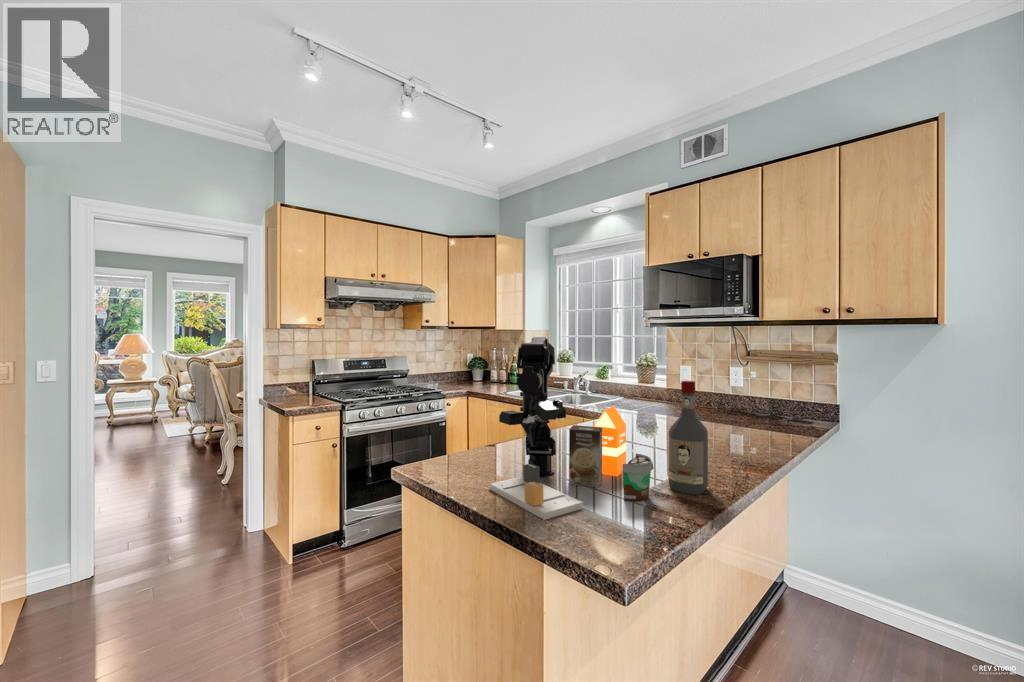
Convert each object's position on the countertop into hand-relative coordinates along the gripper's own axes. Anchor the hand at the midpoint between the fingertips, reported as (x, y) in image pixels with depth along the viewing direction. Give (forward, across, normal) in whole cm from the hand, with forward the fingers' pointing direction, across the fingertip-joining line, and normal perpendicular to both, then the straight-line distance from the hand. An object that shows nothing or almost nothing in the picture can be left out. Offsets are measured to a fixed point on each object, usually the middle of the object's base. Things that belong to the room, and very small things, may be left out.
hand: (533, 446), depth 121 cm
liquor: (+13, +38, -21) cm, 45 cm away
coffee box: (+13, +18, -1) cm, 22 cm away
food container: (+13, +22, -18) cm, 31 cm away
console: (+13, -2, -2) cm, 13 cm away
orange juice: (+13, +32, +3) cm, 35 cm away
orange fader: (+11, -7, -9) cm, 16 cm away
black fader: (+11, +2, +4) cm, 12 cm away
